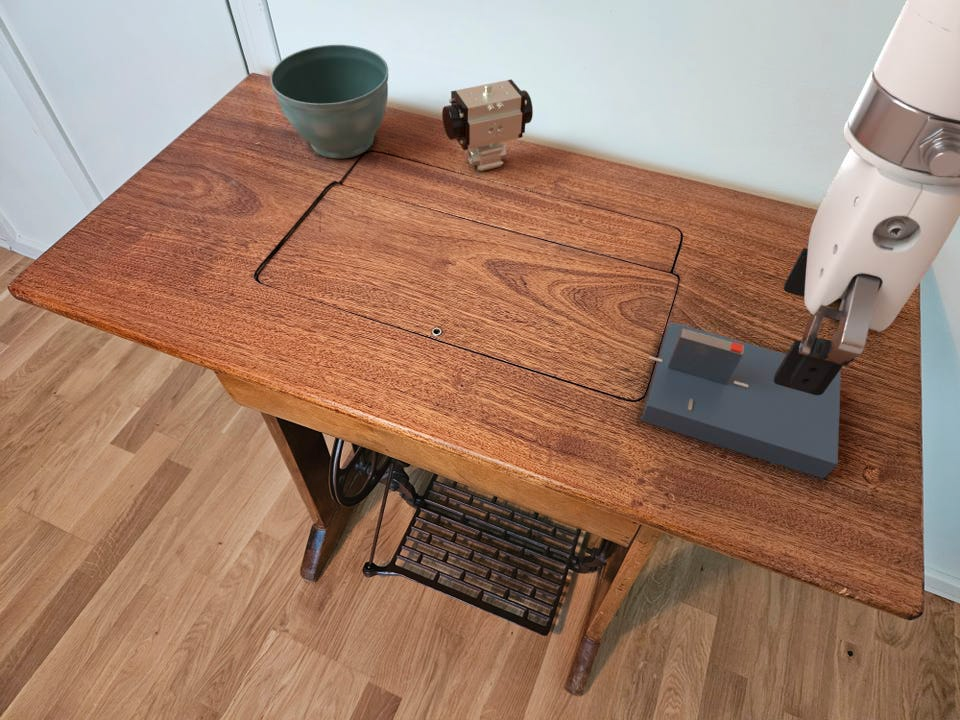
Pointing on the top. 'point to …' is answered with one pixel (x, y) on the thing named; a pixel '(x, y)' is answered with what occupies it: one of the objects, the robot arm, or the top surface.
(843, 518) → the top surface
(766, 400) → the blue-grey rectangular block
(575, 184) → the top surface
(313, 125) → the flower pot
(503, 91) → the pneumatic valve
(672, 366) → the lever
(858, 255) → the robot arm
